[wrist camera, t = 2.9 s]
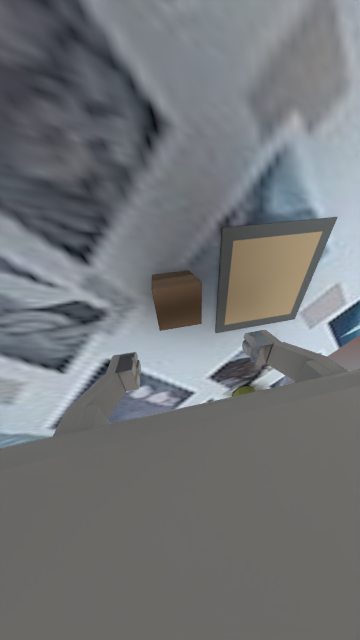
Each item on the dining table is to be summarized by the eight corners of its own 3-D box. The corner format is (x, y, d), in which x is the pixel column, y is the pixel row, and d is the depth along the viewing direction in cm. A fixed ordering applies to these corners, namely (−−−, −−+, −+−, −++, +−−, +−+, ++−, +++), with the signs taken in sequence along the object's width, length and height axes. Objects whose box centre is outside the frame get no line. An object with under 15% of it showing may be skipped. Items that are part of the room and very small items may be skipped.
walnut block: (151, 274, 18) (151, 288, 13) (188, 270, 19) (201, 282, 14) (158, 308, 21) (159, 330, 16) (189, 303, 21) (201, 323, 16)
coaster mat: (222, 228, 17) (223, 227, 16) (335, 217, 18) (337, 216, 18) (215, 332, 25) (216, 333, 25) (293, 318, 27) (294, 319, 26)
